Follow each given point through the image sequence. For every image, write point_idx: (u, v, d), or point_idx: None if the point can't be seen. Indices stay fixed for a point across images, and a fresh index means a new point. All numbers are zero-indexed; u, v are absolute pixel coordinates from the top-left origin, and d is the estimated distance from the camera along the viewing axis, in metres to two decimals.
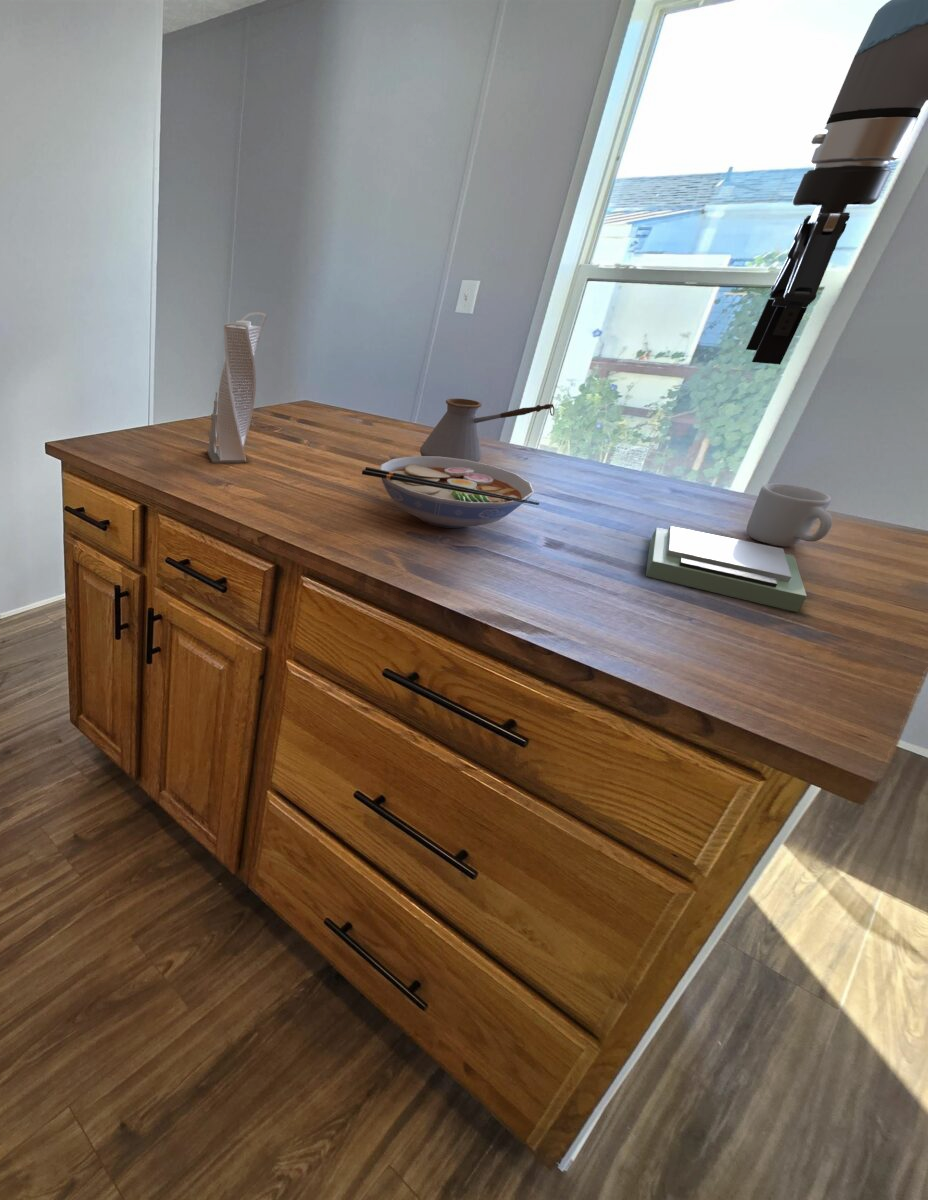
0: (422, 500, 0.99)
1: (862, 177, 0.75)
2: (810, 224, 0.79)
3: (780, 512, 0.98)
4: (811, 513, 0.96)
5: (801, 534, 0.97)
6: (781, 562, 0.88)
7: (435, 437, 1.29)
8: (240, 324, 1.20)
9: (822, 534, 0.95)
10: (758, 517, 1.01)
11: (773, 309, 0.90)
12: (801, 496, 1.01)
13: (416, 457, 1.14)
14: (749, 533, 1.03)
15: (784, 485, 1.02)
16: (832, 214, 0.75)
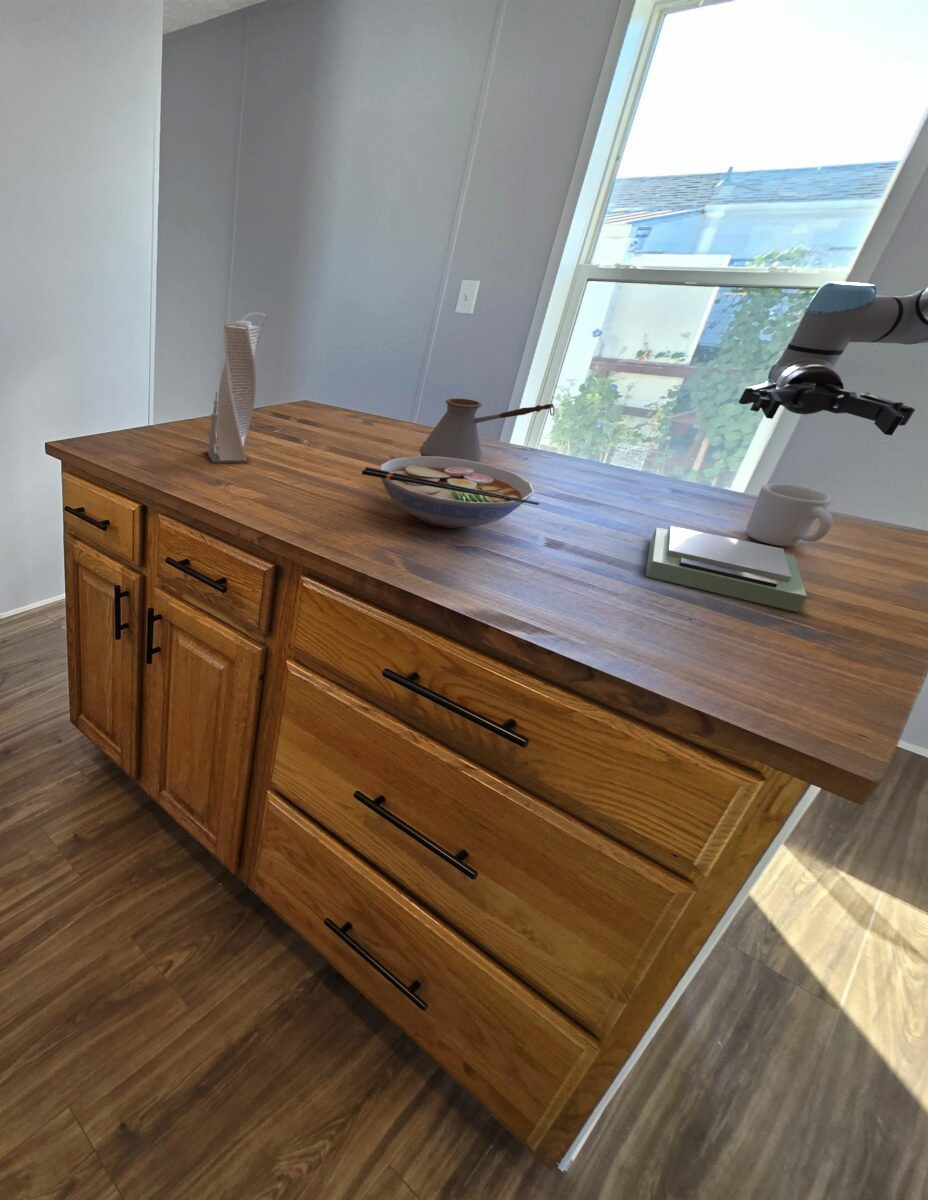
0: (422, 500, 0.99)
1: (786, 379, 1.14)
2: None
3: (780, 512, 0.98)
4: (811, 513, 0.96)
5: (801, 534, 0.97)
6: (781, 562, 0.88)
7: (435, 437, 1.29)
8: (240, 324, 1.20)
9: (822, 534, 0.95)
10: (758, 517, 1.01)
11: (879, 419, 1.00)
12: (801, 496, 1.01)
13: (416, 457, 1.14)
14: (749, 533, 1.03)
15: (784, 485, 1.02)
16: None
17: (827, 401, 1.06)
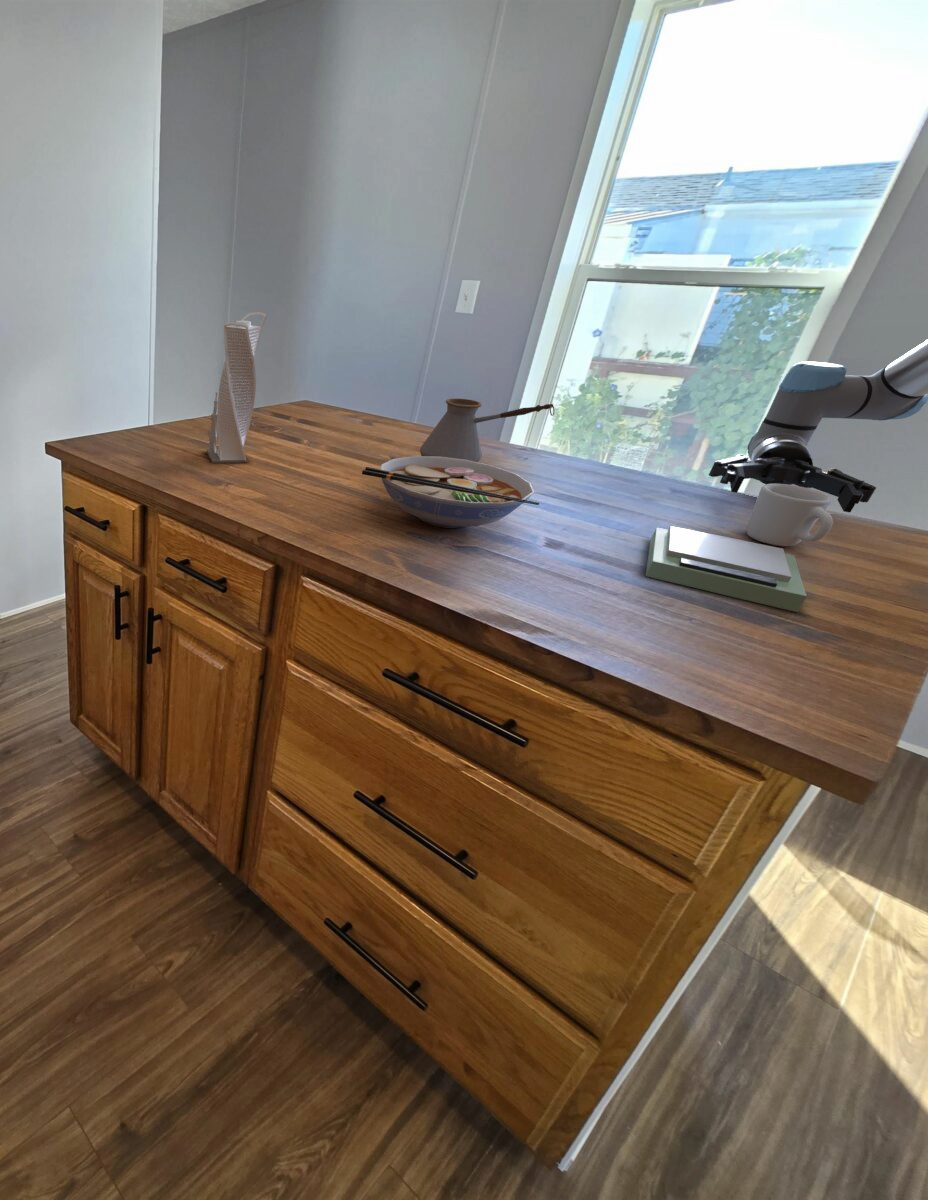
0: (422, 500, 0.99)
1: (759, 452, 1.19)
2: None
3: (780, 512, 0.98)
4: (811, 513, 0.96)
5: (801, 534, 0.97)
6: (781, 562, 0.88)
7: (435, 437, 1.29)
8: (240, 324, 1.20)
9: (822, 534, 0.95)
10: (758, 517, 1.01)
11: (841, 496, 1.04)
12: (801, 496, 1.01)
13: (417, 457, 1.14)
14: (749, 533, 1.03)
15: (784, 485, 1.02)
16: None
17: (795, 476, 1.11)
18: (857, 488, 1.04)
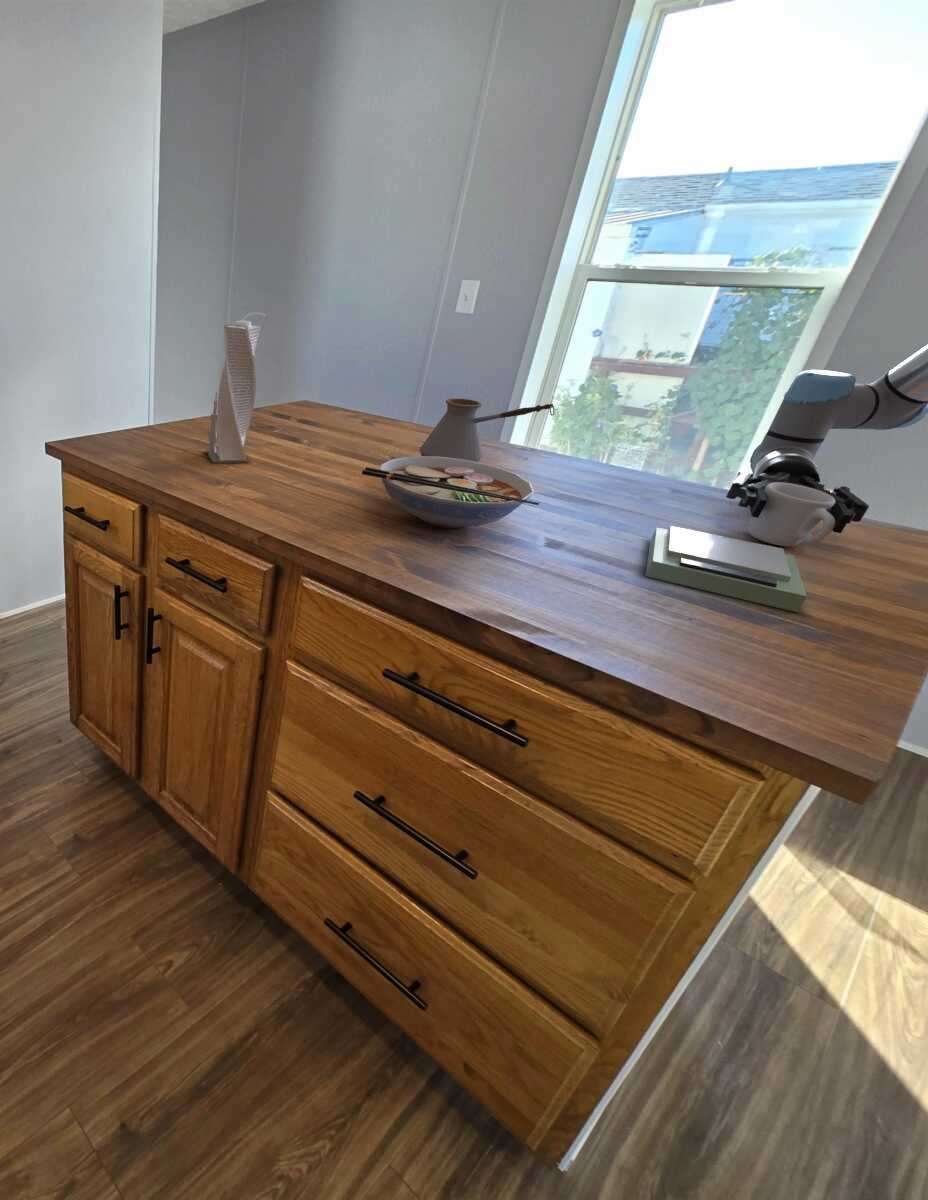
0: (422, 500, 0.99)
1: (762, 467, 1.11)
2: None
3: (784, 512, 0.98)
4: (814, 514, 0.96)
5: (803, 535, 0.97)
6: (781, 562, 0.88)
7: (435, 437, 1.29)
8: (240, 324, 1.20)
9: (823, 536, 0.95)
10: (761, 516, 1.01)
11: (832, 514, 0.97)
12: (805, 496, 1.00)
13: (416, 457, 1.14)
14: (750, 531, 1.03)
15: (789, 484, 1.01)
16: (735, 478, 1.11)
17: None
18: (849, 507, 0.97)
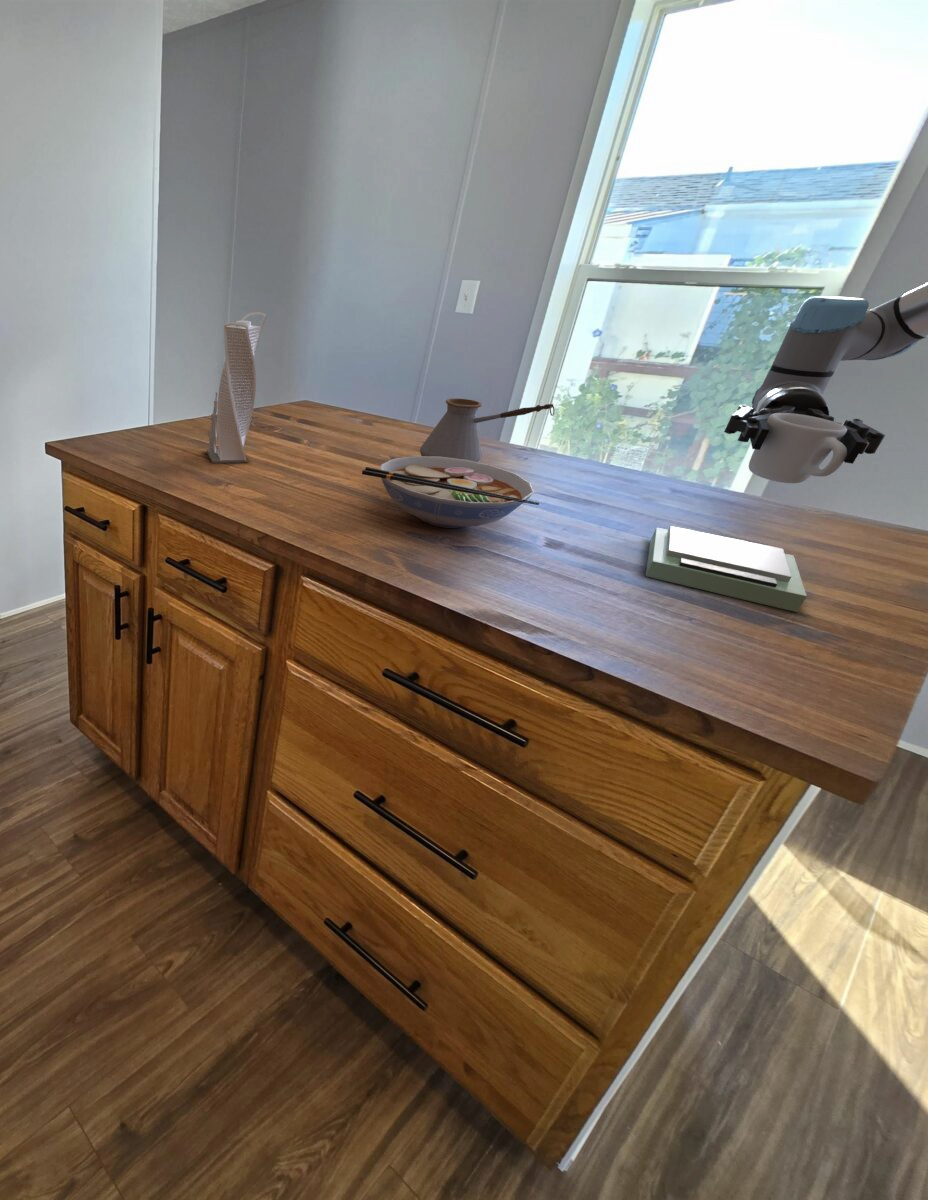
0: (422, 500, 0.99)
1: (765, 403, 1.01)
2: None
3: (788, 443, 0.87)
4: (823, 444, 0.85)
5: (810, 468, 0.87)
6: (781, 562, 0.88)
7: (435, 437, 1.29)
8: (240, 324, 1.20)
9: (833, 468, 0.84)
10: (763, 450, 0.90)
11: None
12: (813, 427, 0.90)
13: (417, 457, 1.14)
14: (751, 469, 0.92)
15: (795, 415, 0.91)
16: None
17: None
18: (862, 436, 0.86)
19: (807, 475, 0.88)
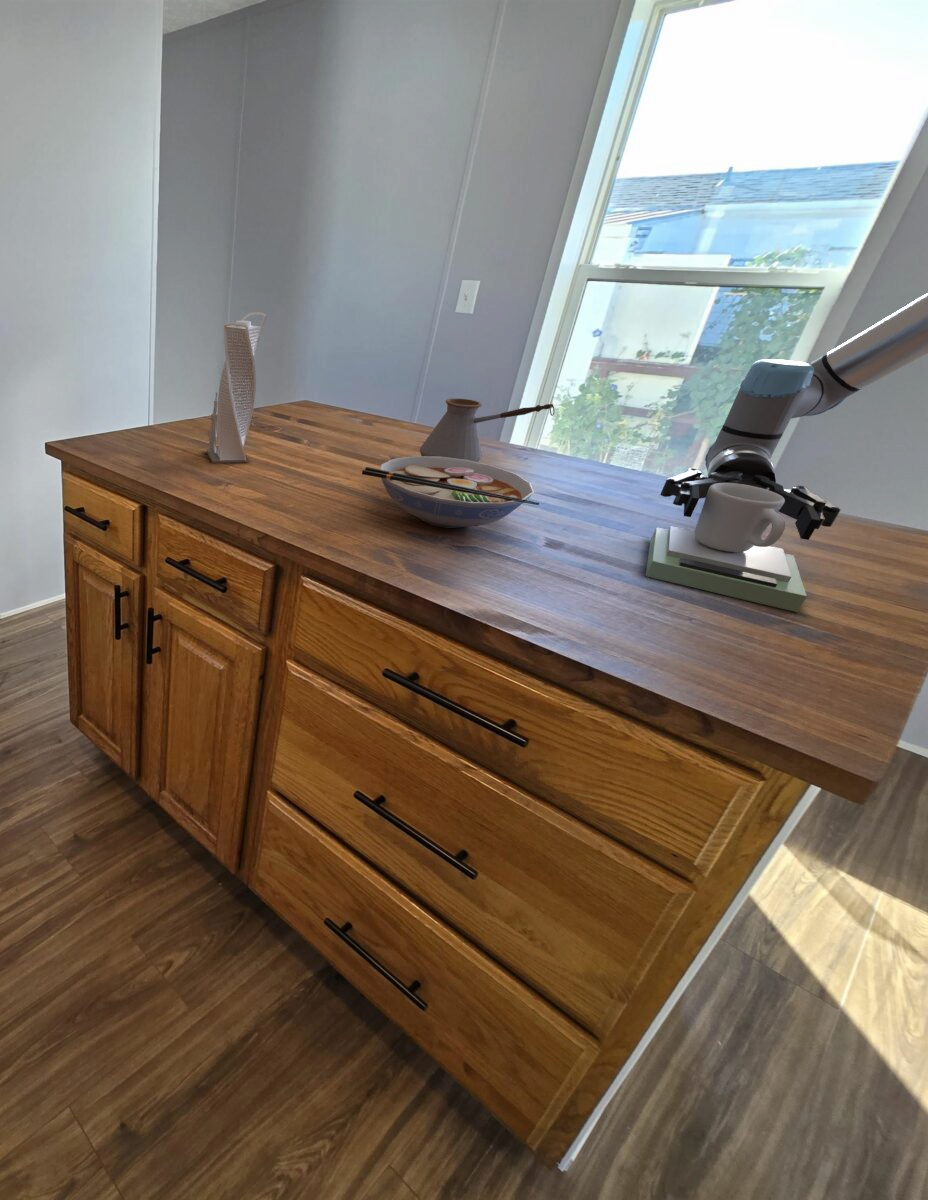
0: (422, 500, 0.99)
1: (714, 465, 1.02)
2: None
3: (729, 514, 0.88)
4: (762, 515, 0.86)
5: (752, 539, 0.88)
6: (781, 562, 0.88)
7: (435, 437, 1.29)
8: (240, 324, 1.20)
9: (773, 539, 0.85)
10: (706, 520, 0.91)
11: (799, 519, 0.87)
12: (753, 497, 0.91)
13: (416, 457, 1.14)
14: (697, 537, 0.93)
15: (735, 484, 0.92)
16: None
17: None
18: (818, 510, 0.87)
19: (751, 544, 0.89)
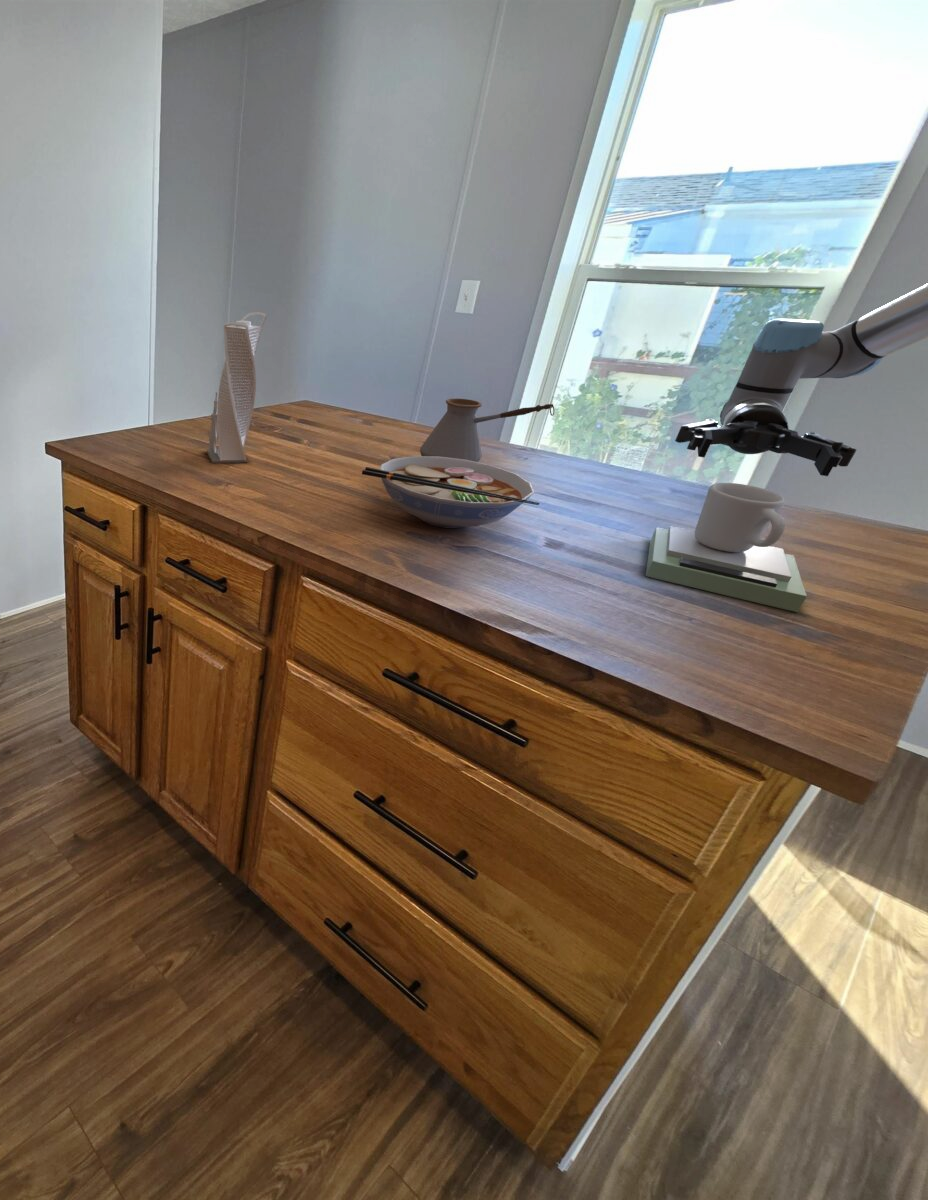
0: (422, 500, 0.99)
1: (730, 417, 1.09)
2: None
3: (729, 514, 0.88)
4: (762, 516, 0.86)
5: (752, 539, 0.88)
6: (781, 562, 0.88)
7: (435, 437, 1.29)
8: (240, 324, 1.20)
9: (773, 539, 0.85)
10: (706, 520, 0.91)
11: (818, 459, 0.94)
12: (753, 497, 0.91)
13: (416, 457, 1.14)
14: (697, 537, 0.93)
15: (735, 484, 0.92)
16: None
17: (768, 441, 1.01)
18: (835, 450, 0.94)
19: (751, 544, 0.89)
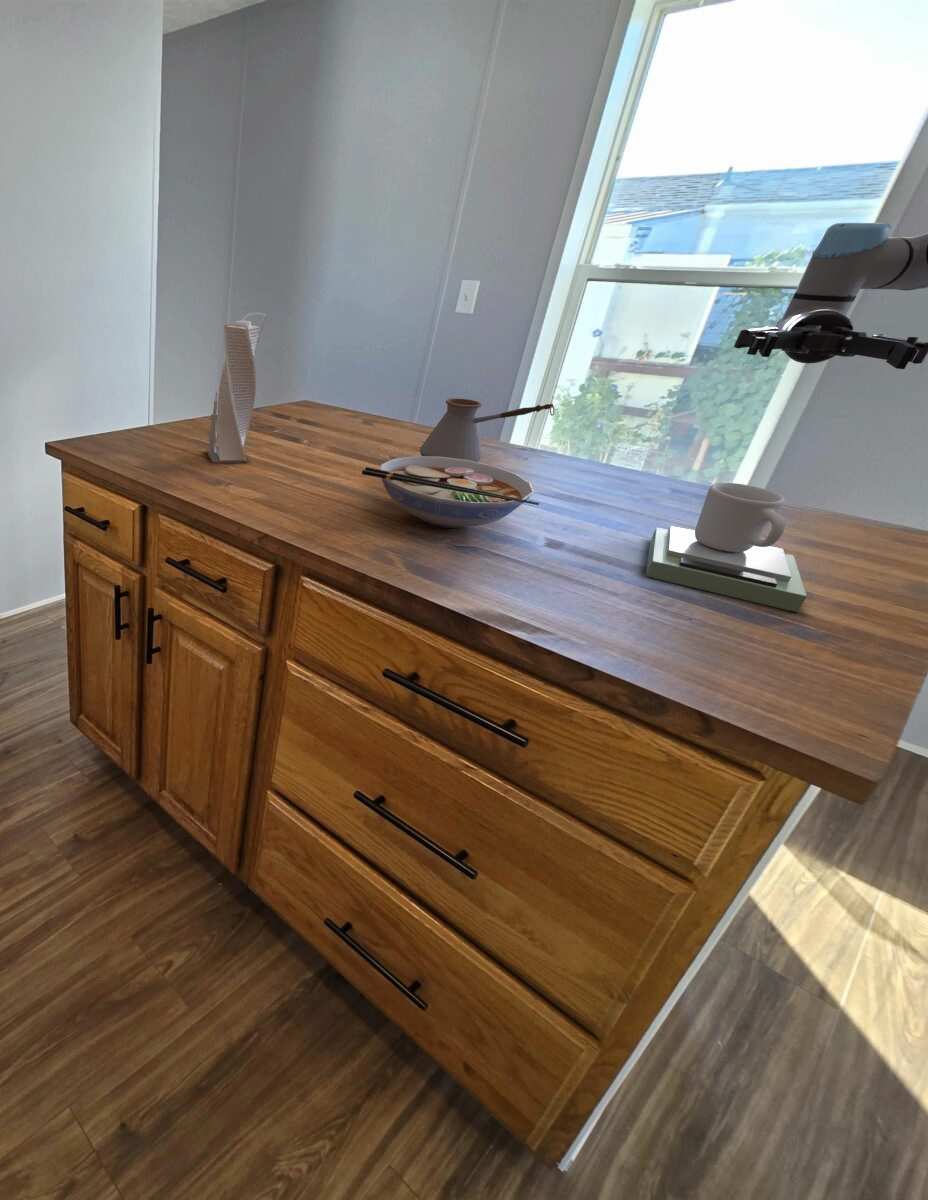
0: (422, 500, 0.99)
1: (790, 326, 1.04)
2: None
3: (729, 514, 0.88)
4: (762, 516, 0.86)
5: (752, 539, 0.88)
6: (781, 562, 0.88)
7: (435, 437, 1.29)
8: (240, 324, 1.20)
9: (773, 539, 0.85)
10: (706, 520, 0.91)
11: (891, 355, 0.89)
12: (753, 497, 0.91)
13: (417, 457, 1.14)
14: (697, 537, 0.93)
15: (735, 484, 0.92)
16: None
17: (834, 343, 0.96)
18: None
19: (751, 544, 0.89)
